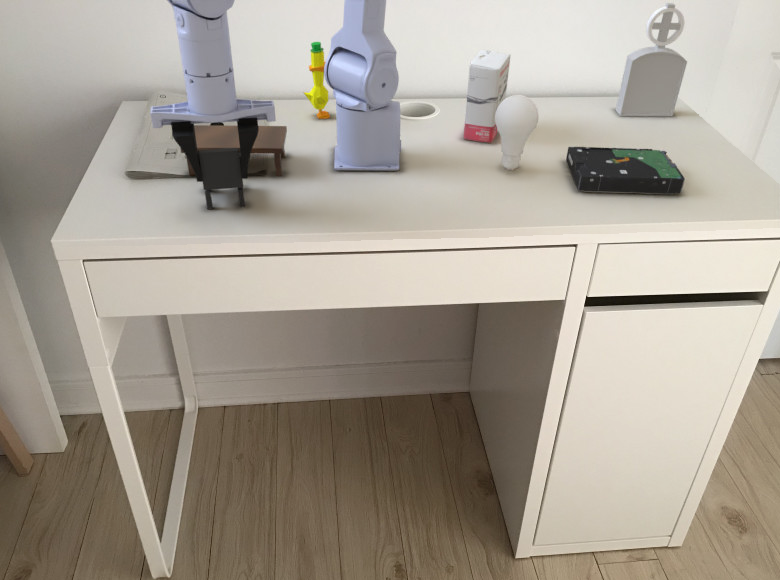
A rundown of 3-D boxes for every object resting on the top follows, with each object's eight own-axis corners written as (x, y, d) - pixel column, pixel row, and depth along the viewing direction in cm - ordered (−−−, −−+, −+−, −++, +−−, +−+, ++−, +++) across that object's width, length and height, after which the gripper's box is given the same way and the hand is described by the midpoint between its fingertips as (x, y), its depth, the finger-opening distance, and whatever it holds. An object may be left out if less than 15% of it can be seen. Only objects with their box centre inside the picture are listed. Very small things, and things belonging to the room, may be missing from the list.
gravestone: (615, 110, 128) (639, 1, 117) (666, 110, 128) (695, 2, 117) (620, 116, 126) (644, 5, 114) (672, 116, 126) (702, 6, 115)
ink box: (491, 144, 114) (500, 68, 107) (461, 139, 115) (468, 64, 108) (503, 125, 121) (512, 52, 113) (474, 120, 122) (481, 48, 114)
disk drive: (577, 194, 102) (681, 196, 102) (581, 176, 100) (687, 177, 100) (564, 163, 110) (660, 164, 110) (567, 145, 108) (665, 147, 108)
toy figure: (342, 111, 123) (340, 38, 116) (346, 119, 120) (345, 44, 113) (302, 114, 122) (298, 40, 114) (306, 122, 119) (302, 47, 112)
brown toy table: (288, 154, 109) (286, 125, 106) (284, 177, 103) (282, 148, 100) (194, 153, 108) (190, 125, 105) (185, 177, 102) (180, 147, 99)
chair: (243, 187, 100) (236, 131, 95) (245, 208, 95) (239, 151, 90) (206, 189, 99) (197, 134, 94) (207, 211, 94) (198, 153, 89)
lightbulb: (506, 157, 111) (515, 85, 104) (538, 170, 107) (550, 97, 100) (480, 168, 107) (488, 95, 100) (512, 182, 104) (523, 107, 97)
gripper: (268, 56, 89) (276, 159, 97) (145, 60, 86) (164, 167, 94) (273, 75, 83) (281, 183, 92) (142, 80, 80) (163, 191, 89)
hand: (222, 176), depth 92 cm, fingers closed on chair, 5 cm apart
